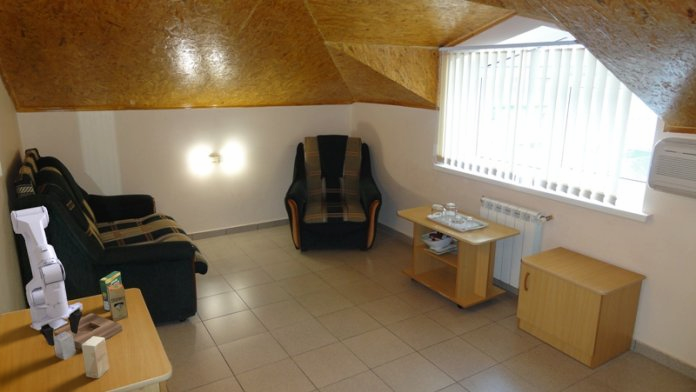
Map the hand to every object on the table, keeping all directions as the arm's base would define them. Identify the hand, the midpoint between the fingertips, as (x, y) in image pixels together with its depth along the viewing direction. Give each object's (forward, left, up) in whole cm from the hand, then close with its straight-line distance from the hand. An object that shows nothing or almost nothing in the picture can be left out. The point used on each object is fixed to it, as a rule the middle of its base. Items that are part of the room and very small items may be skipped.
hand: (63, 338), depth 153 cm
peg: (0, 0, -6) cm, 6 cm away
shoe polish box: (-5, +24, -6) cm, 25 cm away
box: (+17, -1, -6) cm, 18 cm away
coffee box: (-13, +28, -6) cm, 32 cm away
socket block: (-4, +11, -6) cm, 13 cm away
